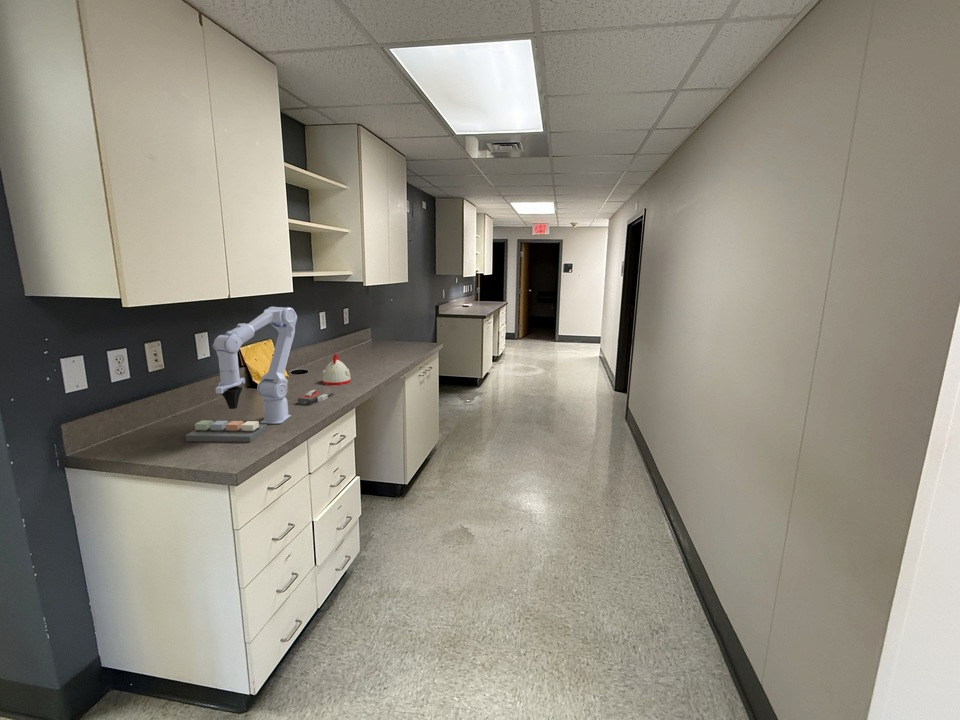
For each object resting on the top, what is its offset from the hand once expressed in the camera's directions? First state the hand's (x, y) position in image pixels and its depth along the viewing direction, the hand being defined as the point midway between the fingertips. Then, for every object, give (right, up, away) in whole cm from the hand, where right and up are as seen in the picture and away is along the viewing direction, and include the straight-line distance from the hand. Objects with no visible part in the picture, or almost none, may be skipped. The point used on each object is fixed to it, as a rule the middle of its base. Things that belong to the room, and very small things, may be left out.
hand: (233, 408), depth 155 cm
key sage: (-11, -8, +2) cm, 14 cm away
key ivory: (+5, -8, +2) cm, 10 cm away
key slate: (-6, -8, +2) cm, 10 cm away
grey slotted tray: (-3, -10, +2) cm, 10 cm away
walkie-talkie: (+12, -1, +47) cm, 48 cm away
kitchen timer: (+11, +5, +77) cm, 78 cm away
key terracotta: (0, -8, +2) cm, 8 cm away
